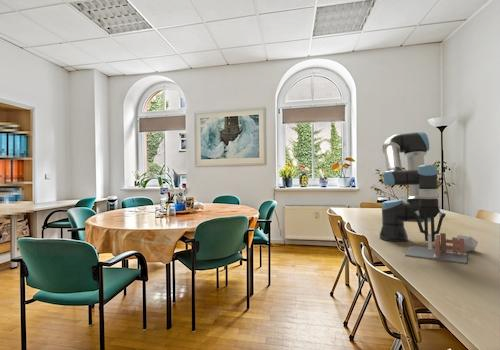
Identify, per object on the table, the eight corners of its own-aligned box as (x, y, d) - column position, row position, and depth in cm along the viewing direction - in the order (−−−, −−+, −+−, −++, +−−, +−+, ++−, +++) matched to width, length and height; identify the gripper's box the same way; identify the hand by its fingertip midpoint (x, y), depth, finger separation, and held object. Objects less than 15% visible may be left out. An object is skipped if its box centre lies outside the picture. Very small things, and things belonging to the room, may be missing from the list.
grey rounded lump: (479, 255, 129) (483, 237, 132) (461, 246, 131) (465, 228, 134) (466, 257, 137) (471, 240, 140) (449, 248, 138) (454, 231, 141)
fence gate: (436, 249, 135) (435, 234, 135) (440, 250, 134) (439, 235, 134) (434, 256, 125) (434, 240, 125) (439, 256, 123) (439, 240, 124)
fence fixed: (441, 252, 132) (440, 233, 132) (441, 251, 134) (440, 232, 134) (464, 254, 127) (463, 235, 127) (464, 253, 128) (463, 234, 128)
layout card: (412, 246, 146) (412, 245, 146) (467, 253, 131) (467, 251, 131) (405, 255, 130) (405, 254, 130) (466, 264, 116) (466, 262, 116)
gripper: (411, 198, 129) (413, 248, 128) (445, 198, 121) (447, 252, 120) (413, 197, 135) (415, 244, 134) (445, 197, 127) (447, 248, 126)
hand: (430, 248), depth 127 cm, fingers closed
